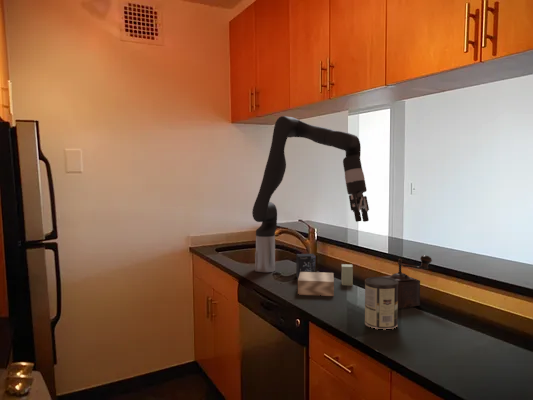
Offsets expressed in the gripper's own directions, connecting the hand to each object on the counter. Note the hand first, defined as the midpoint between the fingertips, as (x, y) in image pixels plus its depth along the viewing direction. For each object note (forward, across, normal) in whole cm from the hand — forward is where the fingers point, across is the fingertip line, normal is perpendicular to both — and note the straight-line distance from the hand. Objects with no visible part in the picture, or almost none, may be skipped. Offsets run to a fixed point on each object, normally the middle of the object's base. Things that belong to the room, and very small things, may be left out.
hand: (362, 221), depth 165 cm
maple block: (+25, +3, -23) cm, 34 cm away
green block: (+24, -12, -16) cm, 31 cm away
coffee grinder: (+33, 0, +11) cm, 34 cm away
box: (+20, -12, -35) cm, 42 cm away
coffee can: (+35, +26, +9) cm, 45 cm away
